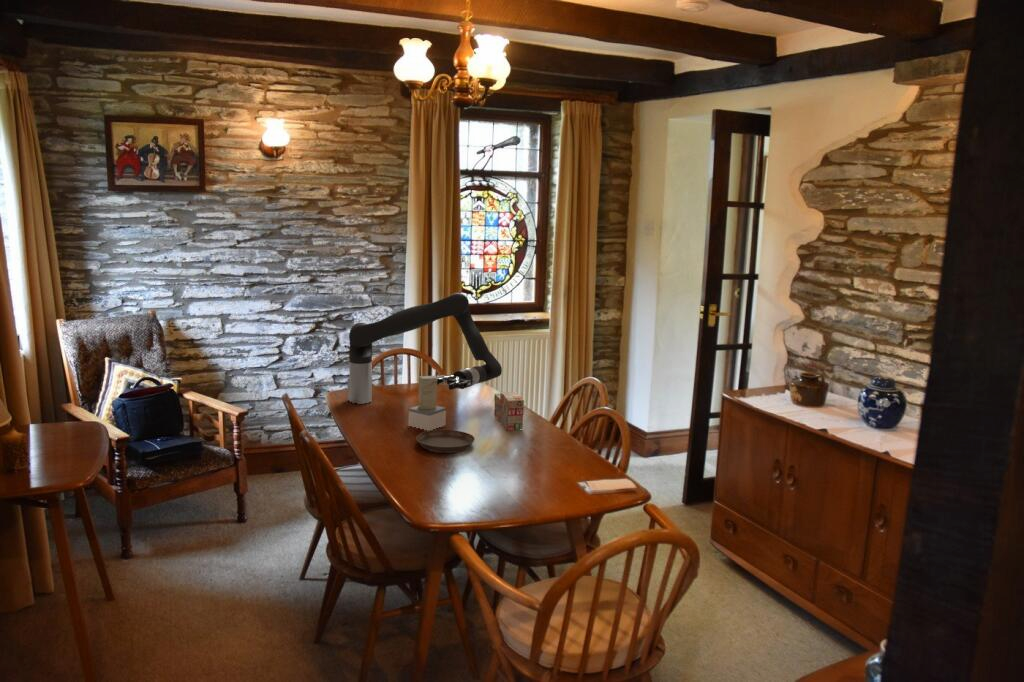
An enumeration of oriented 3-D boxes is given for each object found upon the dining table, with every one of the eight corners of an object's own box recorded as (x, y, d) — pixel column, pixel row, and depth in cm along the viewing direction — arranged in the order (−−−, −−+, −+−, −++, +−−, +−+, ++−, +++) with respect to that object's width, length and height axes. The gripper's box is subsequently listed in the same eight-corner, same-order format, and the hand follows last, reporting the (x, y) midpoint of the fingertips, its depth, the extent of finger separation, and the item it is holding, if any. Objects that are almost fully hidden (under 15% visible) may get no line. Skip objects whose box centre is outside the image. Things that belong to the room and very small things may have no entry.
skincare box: (421, 410, 293) (421, 378, 291) (417, 406, 297) (418, 376, 295) (437, 408, 295) (437, 377, 293) (433, 405, 299) (434, 375, 297)
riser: (408, 426, 296) (408, 408, 295) (425, 420, 304) (425, 403, 303) (428, 431, 291) (429, 413, 289) (445, 425, 299) (445, 407, 298)
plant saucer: (430, 434, 288) (430, 425, 287) (482, 441, 282) (482, 433, 281) (406, 450, 269) (406, 441, 268) (461, 459, 262) (462, 450, 262)
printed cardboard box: (493, 415, 315) (494, 386, 313) (508, 414, 317) (509, 385, 315) (507, 431, 295) (508, 400, 293) (522, 430, 297) (524, 399, 295)
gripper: (452, 366, 318) (426, 372, 304) (480, 371, 310) (455, 378, 296) (452, 384, 319) (426, 391, 306) (480, 389, 311) (455, 397, 298)
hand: (440, 385), depth 301 cm, fingers open, 8 cm apart
